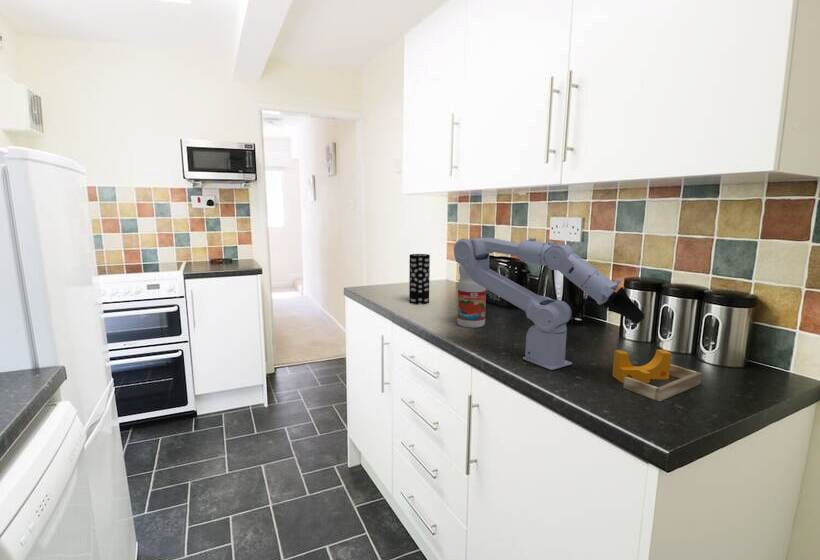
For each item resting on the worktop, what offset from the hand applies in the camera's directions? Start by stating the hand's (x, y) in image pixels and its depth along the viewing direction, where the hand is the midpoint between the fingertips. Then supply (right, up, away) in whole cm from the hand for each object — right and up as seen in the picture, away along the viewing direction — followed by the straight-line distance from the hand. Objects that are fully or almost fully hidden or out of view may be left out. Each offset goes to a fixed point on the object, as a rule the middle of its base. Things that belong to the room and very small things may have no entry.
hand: (641, 319), depth 93 cm
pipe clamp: (+3, -15, +6) cm, 16 cm away
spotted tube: (-47, -1, +85) cm, 97 cm away
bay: (+6, -15, +1) cm, 16 cm away
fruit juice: (-30, -7, +52) cm, 60 cm away
